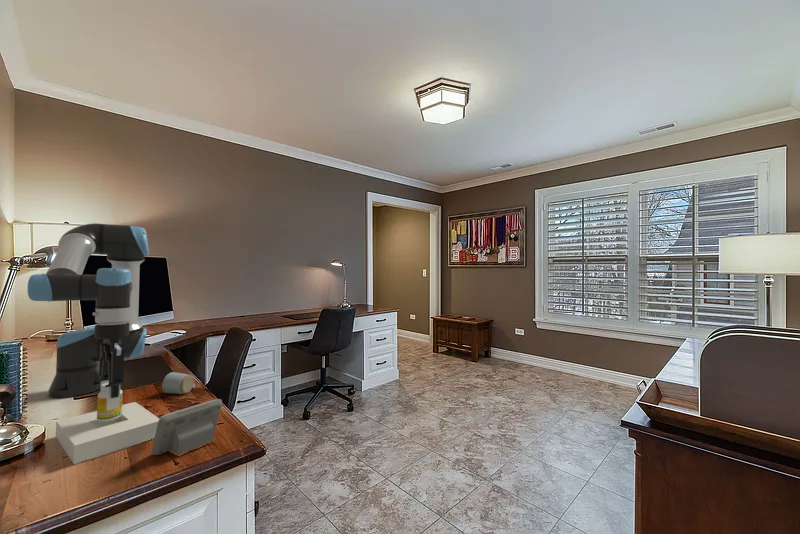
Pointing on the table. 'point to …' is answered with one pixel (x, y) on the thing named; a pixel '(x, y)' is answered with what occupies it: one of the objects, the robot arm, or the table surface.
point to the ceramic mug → (178, 383)
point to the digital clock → (187, 428)
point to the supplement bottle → (102, 403)
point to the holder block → (105, 432)
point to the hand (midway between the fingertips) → (109, 406)
